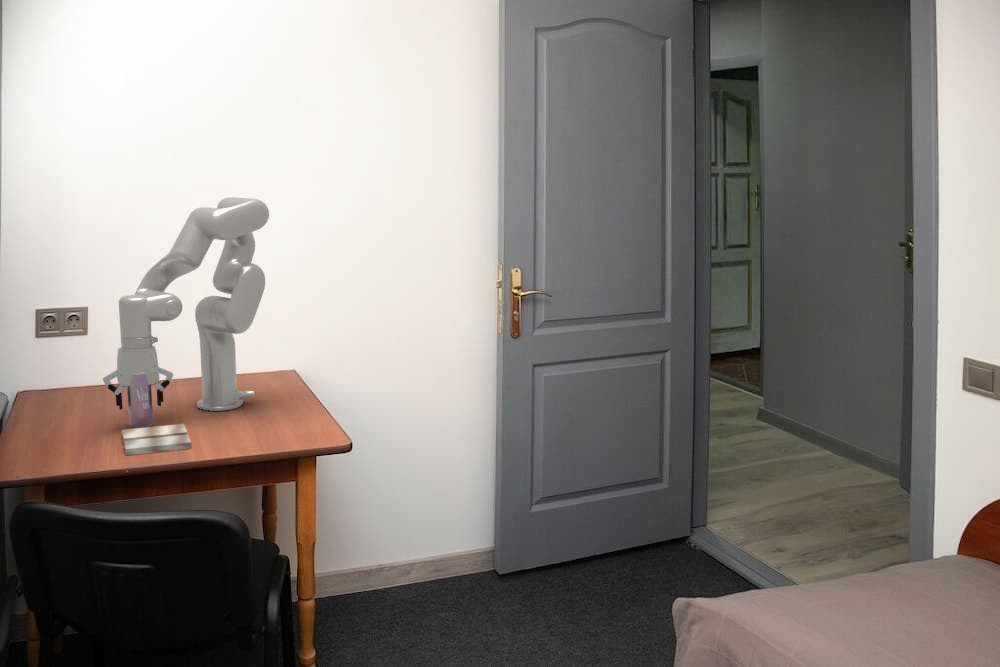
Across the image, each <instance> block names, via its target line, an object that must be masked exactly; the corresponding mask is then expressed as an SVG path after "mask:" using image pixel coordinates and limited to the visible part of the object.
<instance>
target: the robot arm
mask: <svg viewBox="0 0 1000 667" xmlns="http://www.w3.org/2000/svg"><path fill="white" fill-rule="evenodd" d="M269 218H270V211H269V208H268V206H267V204H266V203H265V202H264V201H262V200H260V199H258V198H250V197H249V198H248V197H238V196H237V197H235V196H230V197H225V198H223V199H222V198H221V200H220V201H219V202H218V203H217V206H216V207H206V206H204V207H197V208H195V209H194V210H192V211H191V212H190V214H189V215H188V218H187V219H186V221H185V222H184V224H183V226H182V228H181V230H180V231H179V234H178V236H177V238H176V240H175V241H174V244H173V245H172V248H171V249H170V251H169V252H168V253H167V254H166V255H164V256H163V257H162V258H161V259H160V260H159V261H157V262H156V264H154V265H153V266H152V267H151V268H150V269H148V271H147V272H146V273H145V275H144V276H143V277H142V279H141V281H140V283H139V285H138V287H137V288H136V291H135V293H134V294H129V295H124V296H121V297H120V299H119V300H118V312H119V314H118V315H119V328H120V329H119V331H120V347H118V349H117V356H116V358H117V359H116V370H114V371H113V372H111V373H109V374H107V375H106V376H105V377H103V378H102V381H103V383H104V385H105V386H106V387H107V389H108V390H110V391H111V393H113V394H114V395H115V404H116V407H117V406H118V407H119V411H120V410H123V409H124V408H123V395H122V391H123V390H124V389H125V388H127V387H129V386H130V384H131V377H132V376H133V373H142V372H145V373H144V374H145V375H146V376H147V380H148V384H149V385H151V386H152V385H154V387H156V402H157V404H156V405H157V407H158V406H159V407H162V403H164V391H165V389H166V388H167V387H168V386H169V384H170V383H171V381H172V380H173V377H174V373H173V372H172V371H169V370H167V369H165V368H162V367H159V359H158V355H157V354H158V353H157V349H156V346H155V345H153V344H155V343H159V339H158V337H157V336H156V337H155V336H153V334H152V322H171V321H173V320H176V319H177V318H178V317H179V316H181V314H182V311H183V302H182V300H181V299H180V298H179V297H178V296H177V295H176V294H174V293H170V292H165V291H166V289H167V288H168V287H169V286H170V284H172V283H173V282H174V281H175V280H176V279H179V278H180V277H183V276H185V275H187V274H189V273H191V272H193V271H195V270H197V269H198V268H200V267H201V264H202V262H203V260H204V259H205V257H206V254H207V253H208V251H209V249H210V247H211V245H212V244H213V241H214V240H219V241H224V244H223V248H222V251H221V253H220V257H219V260H218V262H217V265H216V268H215V270H214V272H213V277H212V285H213V287H214V288H215V289H216V290H217V291H218V292H221V293H223V294H227V295H230V298H229V297H225V296H221V295H220V296H218V295H209V296H208V295H207V296H206V297H203V298H202V299H201V300H200V301H199V302H197V305H196V307H195V310H194V314H195V316H194V317H195V322H196V327H197V331H198V337H199V349H200V370H201V392H202V395H201V396H202V399H199V400H198V401H197V402H196V407H197V408H198V409H199V408H200V409H199V410H202V409H203V411H208V410H209V412H210V411H211V412H219V411H220V412H221V411H230V410H234V409H237V408H240V407H241V405H242V406H243V404H244V403H243V402H244V401H243V399H244V398H247V399H249V398H254V397H255V392H254V390H248V389H246V390H245V389H244V390H240V389H239V388H238V385H237V364H236V362H237V360H236V343H235V338H234V334H235V335H239V334H243V333H246V331H248V329H250V327H251V326H252V324H253V322H254V320H255V316H256V315H257V311H258V309H259V306H260V303H261V301H262V298H263V295H264V291H265V289H266V276H265V272H264V271H263V269H262V268H261V266H259V265H257V264H255V263H252V260H253V258H254V254H255V251H256V241H255V236H254V234H253V232H255V231H258V230H260V229H263V227H265V225H266V224H267V223H268V221H269ZM160 374H161V375H162V376H166V377H165V379H164V380H163V381H162V383H161V382H160ZM115 378H117V382H118V384H117V386H115V385H114V384H112V382H111V381H112V380H113V379H115Z"/></svg>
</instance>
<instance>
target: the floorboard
mask: <svg viewBox="0 0 1000 667" xmlns="http://www.w3.org/2000/svg"><path fill="white" fill-rule="evenodd" d="M190 438H191V437H190V436H189V433H187V434H186V435H177V436H167V437H157V438H147V439H137V440H127V441H124V442H123V447H124V453H125V456H134V455H144V454H145V455H146V454H154V453H162V452H171V451H182V450H190V449H192V441H191V439H190Z"/></svg>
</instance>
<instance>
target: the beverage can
mask: <svg viewBox="0 0 1000 667" xmlns="http://www.w3.org/2000/svg"><path fill="white" fill-rule="evenodd" d="M144 373H145V372H142V373H133V376H132V377H131V384H130V386H129V387H126V395H127V396H126V397H127V409H128V410H127V411H128V425H129V426H130V427H131V429H135V428H146V427H152V426H153V424H154V413H153V395H152V385H149V384H148V380H147V376H146V375H145V374H144Z"/></svg>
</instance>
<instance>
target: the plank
mask: <svg viewBox="0 0 1000 667" xmlns="http://www.w3.org/2000/svg"><path fill="white" fill-rule="evenodd" d="M121 432H122V434H121V435H122V442H123V443H124V441H127V440H137V439H147V438H157V437H167V436H177V435H186V434H188V430H187V428H186V426H185V423H180V424H179V423H177V424H169V425H159V426H157V425H156V426H150V427H146V428H128V429H127V428H125V429H121Z"/></svg>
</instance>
